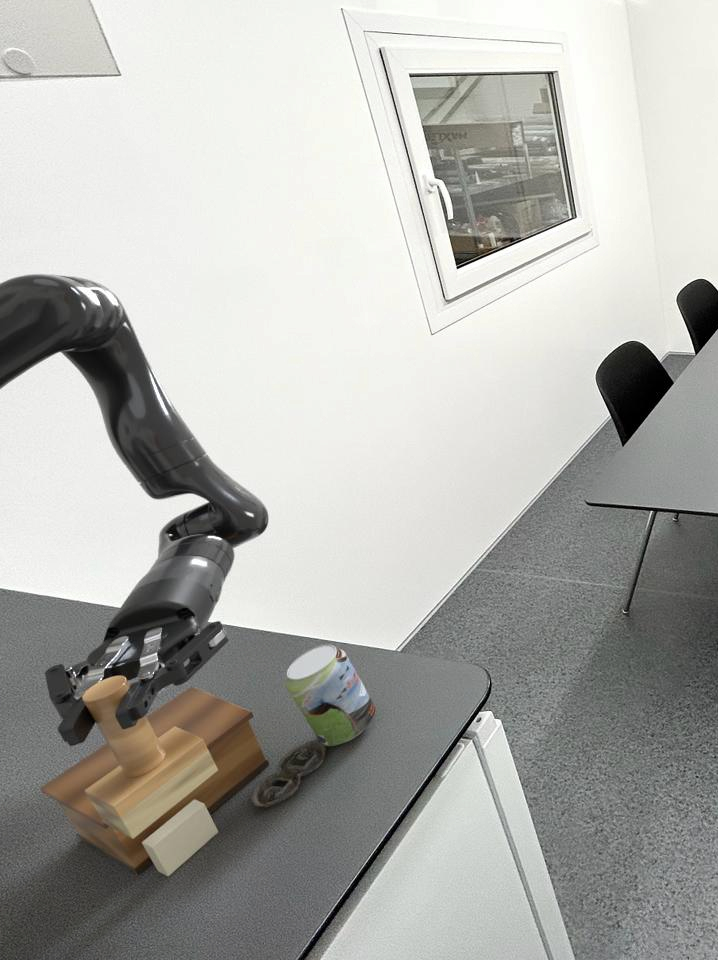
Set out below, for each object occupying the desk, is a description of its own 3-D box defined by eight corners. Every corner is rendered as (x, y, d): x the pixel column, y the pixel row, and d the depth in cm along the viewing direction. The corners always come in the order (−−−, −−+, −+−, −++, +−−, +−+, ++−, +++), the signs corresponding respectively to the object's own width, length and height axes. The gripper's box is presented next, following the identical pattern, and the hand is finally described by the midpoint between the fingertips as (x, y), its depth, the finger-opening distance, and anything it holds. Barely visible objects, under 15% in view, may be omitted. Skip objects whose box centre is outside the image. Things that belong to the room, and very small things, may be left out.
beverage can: (384, 728, 78) (364, 651, 75) (312, 768, 73) (287, 687, 69) (369, 700, 82) (350, 626, 79) (301, 736, 77) (276, 658, 74)
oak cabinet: (74, 842, 66) (39, 788, 63) (215, 736, 78) (191, 686, 75) (136, 879, 63) (102, 824, 60) (274, 763, 74) (251, 711, 71)
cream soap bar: (141, 842, 62) (151, 847, 61) (194, 798, 66) (204, 803, 65) (158, 871, 63) (168, 876, 63) (208, 827, 67) (218, 832, 67)
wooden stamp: (104, 822, 60) (36, 713, 54) (190, 757, 66) (137, 652, 61) (133, 839, 58) (66, 728, 53) (218, 770, 65) (166, 664, 59)
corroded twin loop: (241, 809, 69) (237, 803, 69) (302, 743, 76) (300, 737, 76) (281, 814, 68) (278, 808, 68) (339, 747, 76) (337, 741, 76)
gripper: (69, 600, 65) (-38, 733, 51) (239, 558, 71) (186, 667, 57) (98, 654, 68) (4, 796, 53) (260, 610, 74) (214, 726, 60)
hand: (98, 728), depth 55 cm, fingers closed on wooden stamp, 3 cm apart
